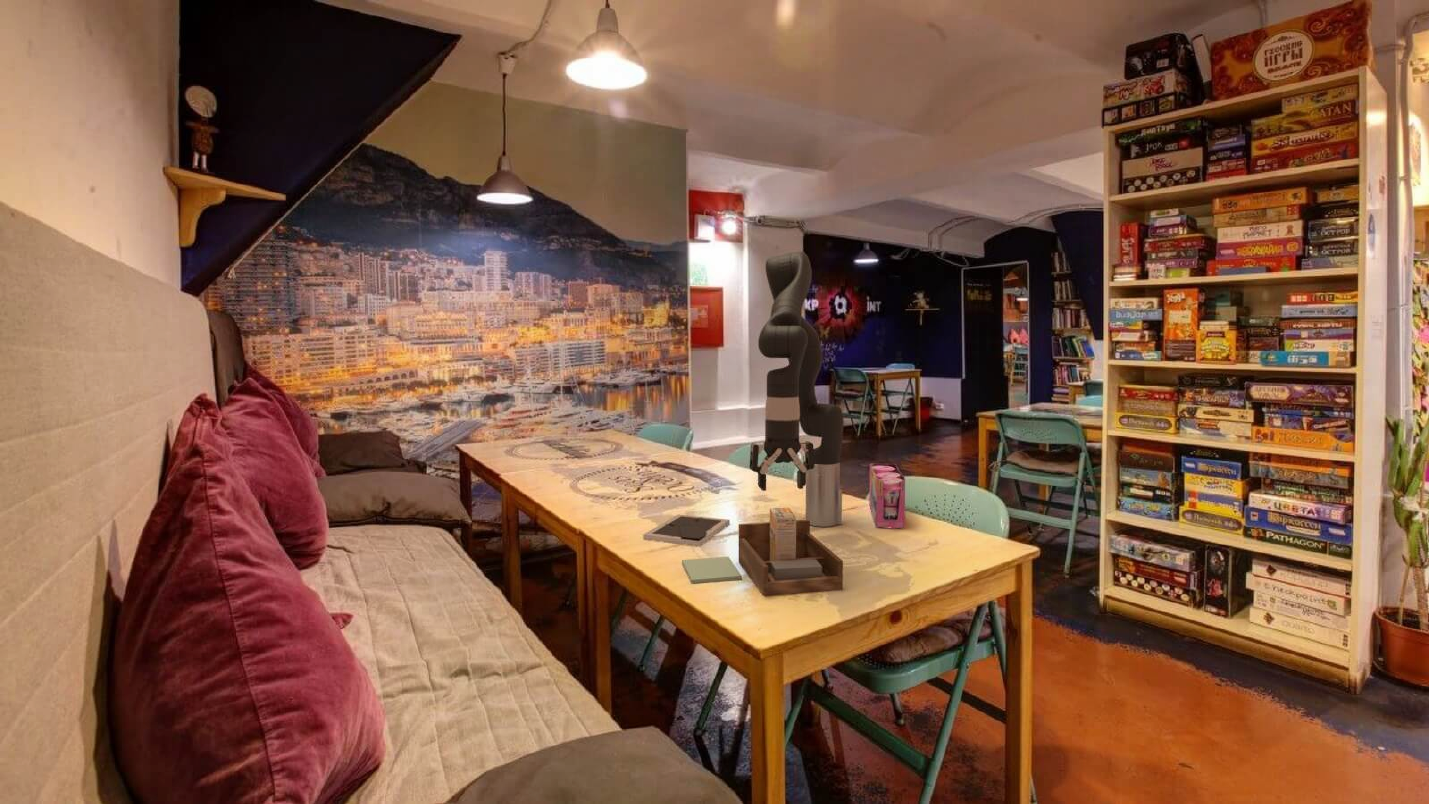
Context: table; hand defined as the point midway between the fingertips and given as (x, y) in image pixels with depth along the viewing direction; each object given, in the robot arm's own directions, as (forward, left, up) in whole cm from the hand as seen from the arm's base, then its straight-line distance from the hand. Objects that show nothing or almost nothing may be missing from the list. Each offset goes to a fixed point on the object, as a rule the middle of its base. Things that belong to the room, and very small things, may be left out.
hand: (781, 489), depth 153 cm
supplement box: (0, 0, -19) cm, 19 cm away
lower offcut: (0, +10, -19) cm, 21 cm away
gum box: (-42, -34, -19) cm, 57 cm away
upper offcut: (0, +10, -16) cm, 19 cm away
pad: (+16, -2, -18) cm, 24 cm away
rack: (0, +4, -18) cm, 19 cm away
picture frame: (+16, -33, -19) cm, 41 cm away
